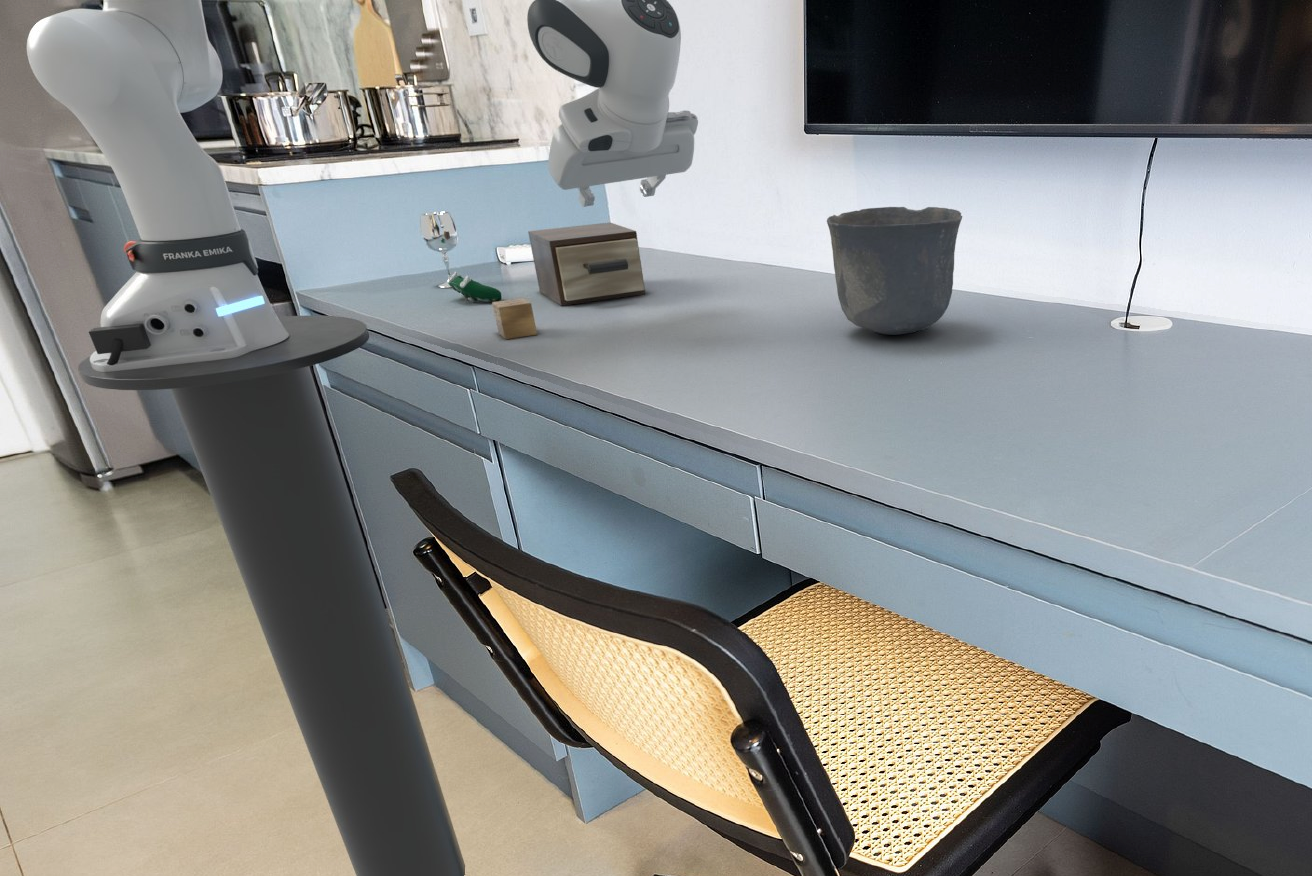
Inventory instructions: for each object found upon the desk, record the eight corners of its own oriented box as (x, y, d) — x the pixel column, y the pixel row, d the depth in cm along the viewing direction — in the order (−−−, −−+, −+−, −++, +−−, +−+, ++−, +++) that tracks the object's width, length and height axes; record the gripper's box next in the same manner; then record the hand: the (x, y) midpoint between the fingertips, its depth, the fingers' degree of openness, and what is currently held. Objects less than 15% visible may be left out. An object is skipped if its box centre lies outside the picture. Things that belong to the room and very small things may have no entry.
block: (505, 339, 139) (498, 307, 137) (498, 333, 142) (491, 302, 140) (537, 334, 141) (531, 302, 138) (530, 328, 144) (523, 297, 142)
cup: (993, 331, 132) (995, 210, 125) (898, 358, 122) (894, 229, 115) (900, 312, 144) (897, 201, 137) (805, 336, 133) (797, 217, 126)
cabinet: (645, 293, 163) (636, 230, 159) (561, 305, 157) (549, 240, 153) (619, 281, 174) (610, 222, 169) (539, 292, 168) (527, 231, 163)
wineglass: (462, 280, 181) (446, 210, 175) (473, 284, 177) (457, 212, 171) (429, 285, 177) (412, 214, 172) (440, 289, 173) (423, 216, 168)
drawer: (653, 294, 158) (645, 241, 154) (574, 305, 152) (564, 251, 149) (620, 278, 171) (613, 230, 167) (546, 288, 165) (537, 238, 162)
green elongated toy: (473, 306, 169) (441, 284, 164) (484, 287, 169) (453, 265, 165) (493, 314, 162) (460, 292, 158) (505, 294, 163) (473, 271, 158)
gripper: (689, 92, 137) (671, 171, 148) (547, 107, 126) (539, 191, 138) (711, 126, 135) (691, 203, 147) (569, 144, 125) (559, 225, 136)
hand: (616, 197), depth 142 cm, fingers open, 8 cm apart
